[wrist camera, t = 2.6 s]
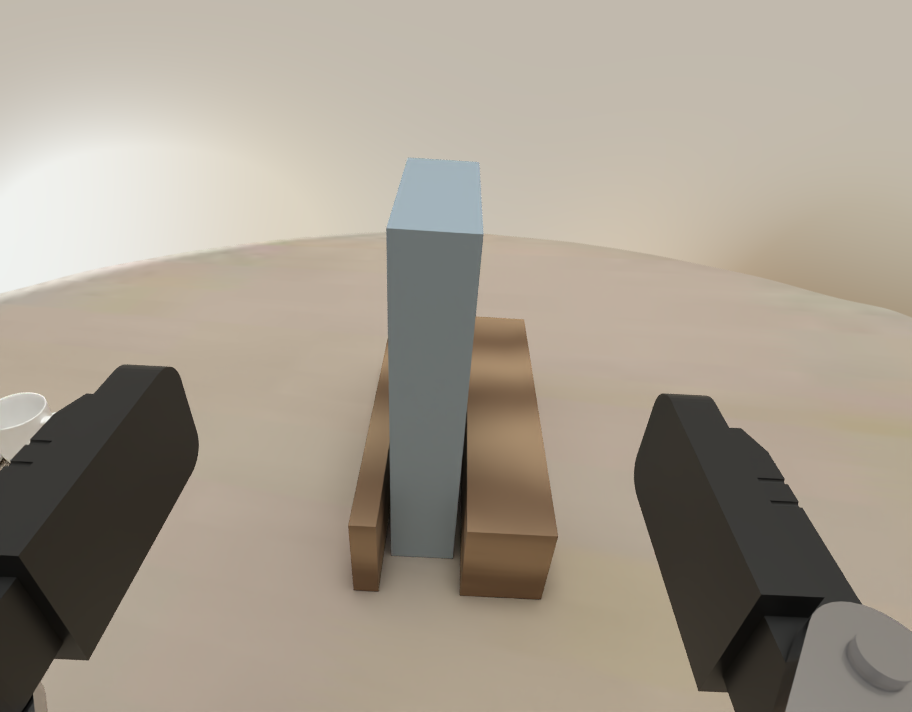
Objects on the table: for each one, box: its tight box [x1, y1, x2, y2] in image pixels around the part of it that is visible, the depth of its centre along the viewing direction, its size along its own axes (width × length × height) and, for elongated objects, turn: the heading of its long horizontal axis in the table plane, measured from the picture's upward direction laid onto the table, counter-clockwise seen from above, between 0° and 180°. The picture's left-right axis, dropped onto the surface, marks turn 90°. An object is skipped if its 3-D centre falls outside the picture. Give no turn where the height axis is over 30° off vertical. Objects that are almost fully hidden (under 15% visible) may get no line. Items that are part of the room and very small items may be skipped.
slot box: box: [348, 317, 558, 599], centre depth 33 cm, size 18×9×5 cm, turn 179°
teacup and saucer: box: [0, 392, 56, 463], centre depth 32 cm, size 9×8×4 cm
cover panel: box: [386, 158, 483, 559], centre depth 27 cm, size 8×3×18 cm, turn 179°
